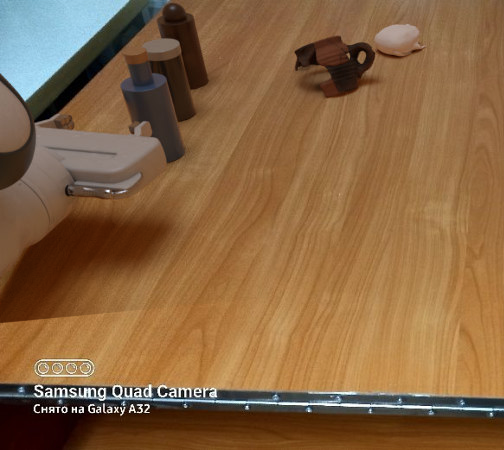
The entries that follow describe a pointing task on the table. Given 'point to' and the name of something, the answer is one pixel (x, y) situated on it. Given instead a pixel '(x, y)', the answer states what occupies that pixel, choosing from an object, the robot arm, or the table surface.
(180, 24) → the pepper mill
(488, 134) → the table surface
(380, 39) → the pale pink rounded lump
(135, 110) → the blue bottle
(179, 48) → the salt shaker
